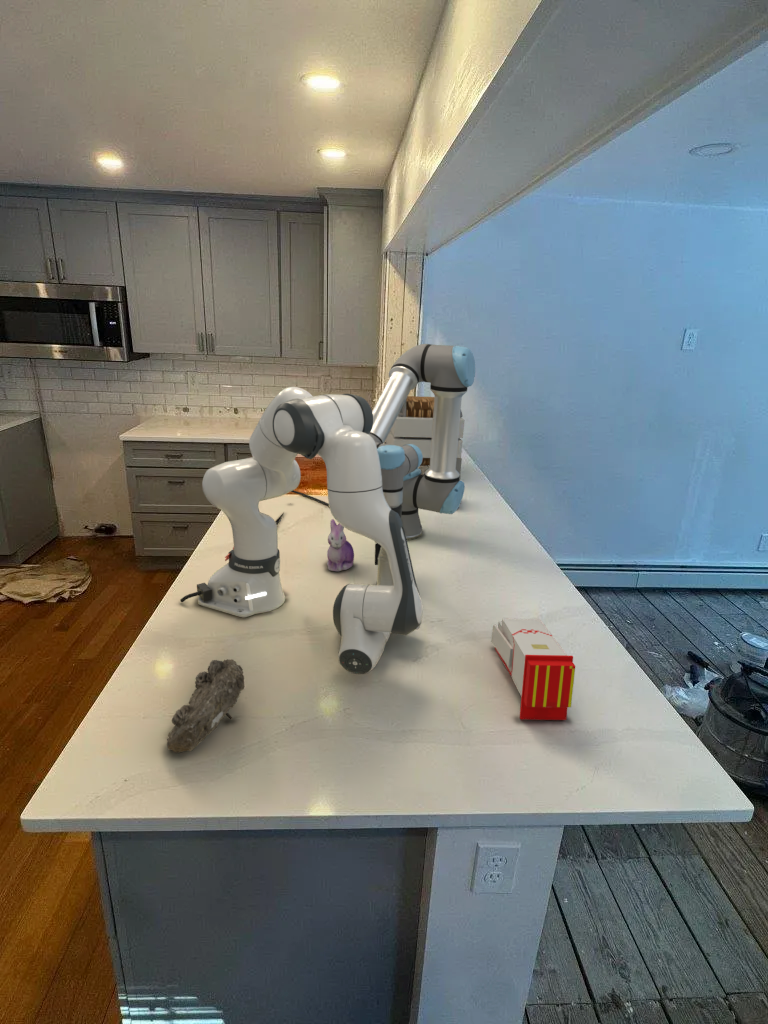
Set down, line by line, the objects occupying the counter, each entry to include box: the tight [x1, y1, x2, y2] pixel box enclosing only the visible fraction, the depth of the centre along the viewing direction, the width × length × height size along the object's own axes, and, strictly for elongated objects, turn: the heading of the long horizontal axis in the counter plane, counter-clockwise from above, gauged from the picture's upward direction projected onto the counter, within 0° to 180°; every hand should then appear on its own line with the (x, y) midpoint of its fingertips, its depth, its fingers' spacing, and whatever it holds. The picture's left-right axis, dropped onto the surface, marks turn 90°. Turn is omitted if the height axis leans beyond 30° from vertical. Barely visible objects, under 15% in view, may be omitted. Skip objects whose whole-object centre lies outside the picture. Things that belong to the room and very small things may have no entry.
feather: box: [274, 503, 291, 525], centre depth 211 cm, size 2×28×2 cm
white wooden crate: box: [384, 395, 465, 481], centre depth 268 cm, size 34×33×41 cm
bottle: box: [376, 546, 394, 586], centre depth 140 cm, size 5×5×24 cm
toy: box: [490, 617, 576, 721], centre depth 122 cm, size 12×13×30 cm
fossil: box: [166, 658, 245, 754], centre depth 106 cm, size 22×10×15 cm
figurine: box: [326, 518, 355, 572], centre depth 171 cm, size 9×10×15 cm
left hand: (386, 596), depth 143 cm, fingers closed on bottle, 5 cm apart
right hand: (385, 574), depth 159 cm, fingers open, 13 cm apart
